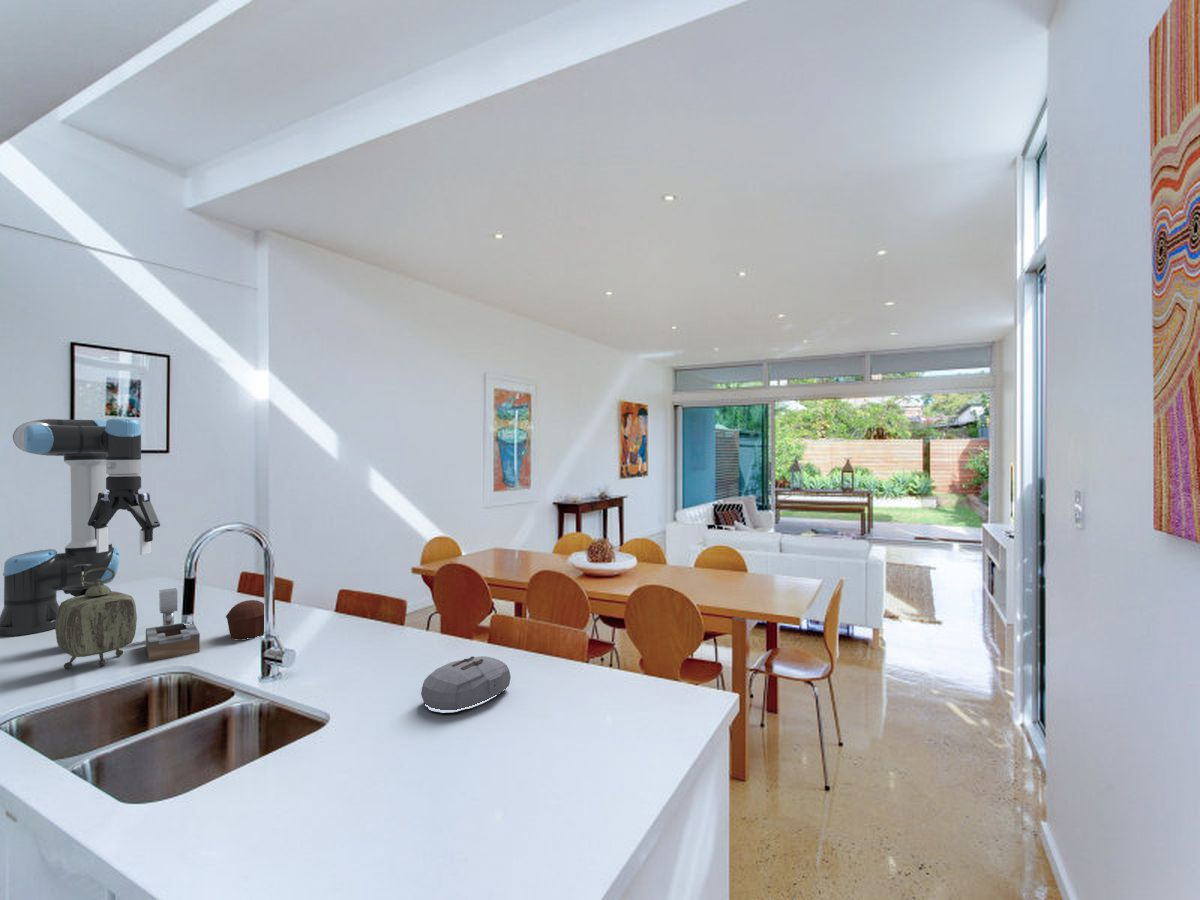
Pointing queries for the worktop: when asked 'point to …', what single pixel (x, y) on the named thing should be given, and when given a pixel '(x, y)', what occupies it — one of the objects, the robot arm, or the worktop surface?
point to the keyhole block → (172, 641)
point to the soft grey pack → (465, 683)
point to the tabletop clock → (95, 621)
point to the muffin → (246, 620)
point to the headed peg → (168, 605)
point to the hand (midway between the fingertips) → (123, 552)
